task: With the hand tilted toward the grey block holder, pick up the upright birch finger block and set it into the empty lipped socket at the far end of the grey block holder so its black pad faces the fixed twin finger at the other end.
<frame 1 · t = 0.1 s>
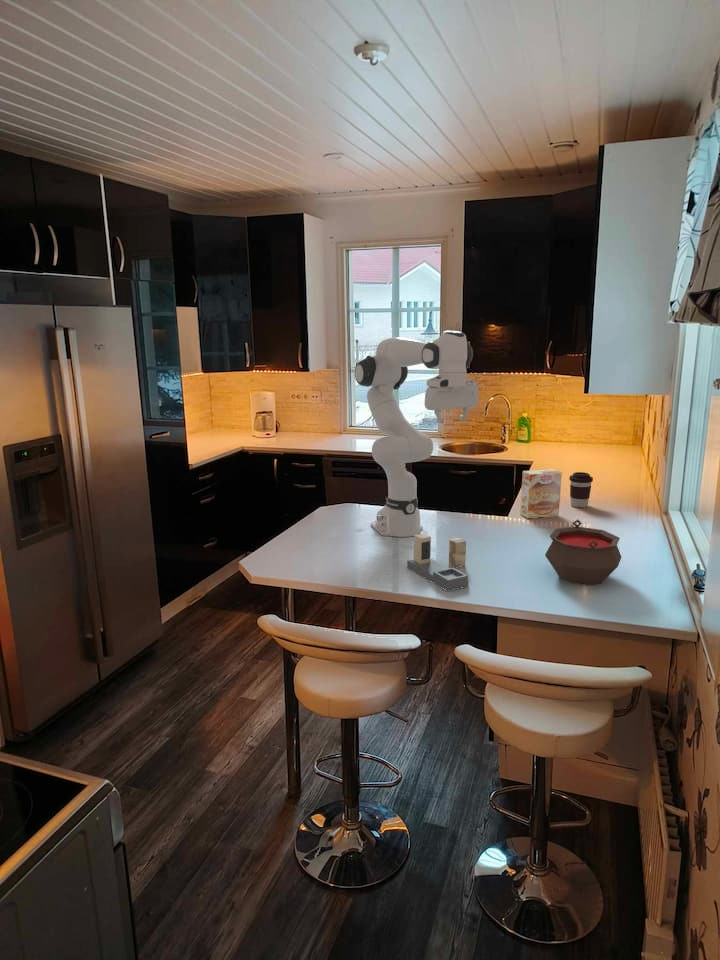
hand: (451, 421, 215), 48 cm above the table, tool pointing down, fingers open, 8 cm apart
coffeecake box: (539, 516, 273), on the table
finger block: (456, 565, 217), on the table
brown cauldron: (581, 577, 207), on the table
grey block holder: (436, 576, 208), on the table
coffee cup: (578, 506, 287), on the table
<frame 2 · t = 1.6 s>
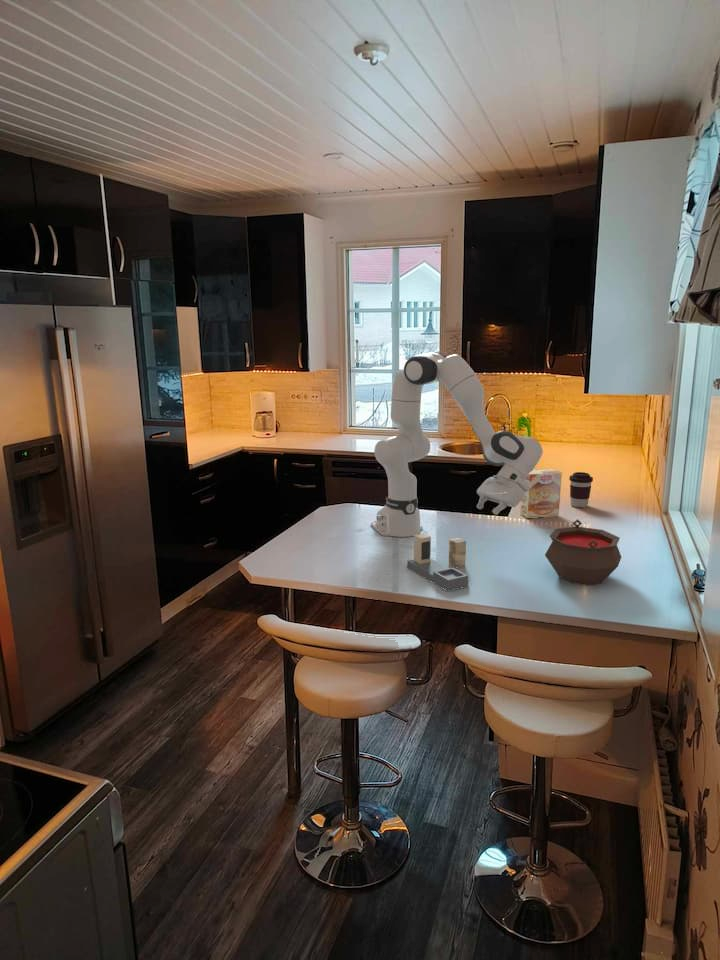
hand: (486, 510, 218), 18 cm above the table, tool tilted 45°, fingers open, 8 cm apart
nothing on the table moved.
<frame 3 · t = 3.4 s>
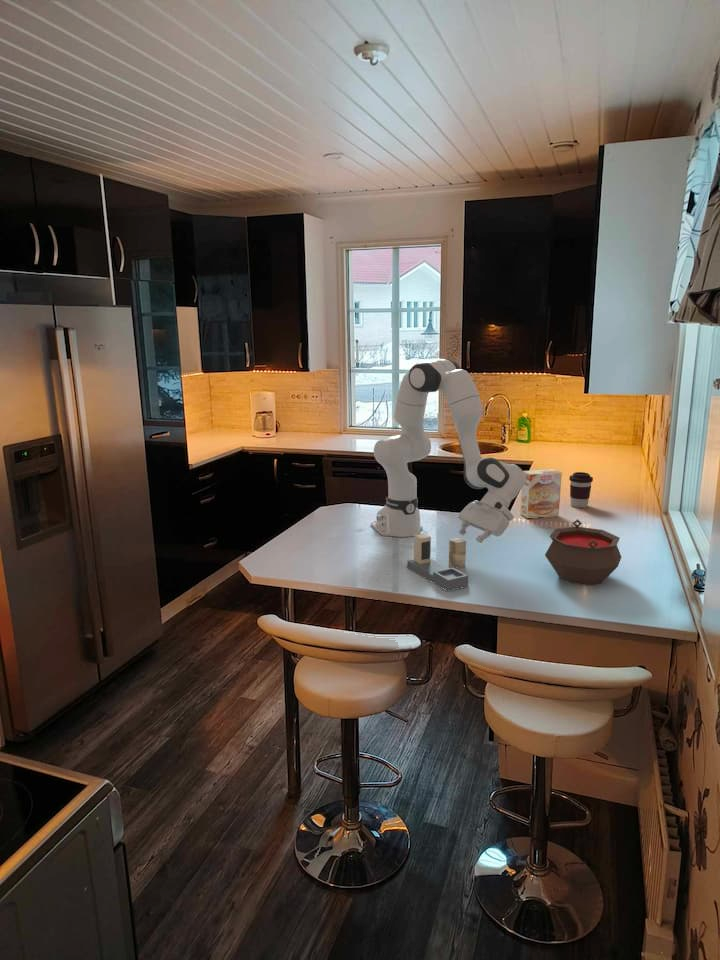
hand: (469, 537, 217), 9 cm above the table, tool tilted 45°, fingers open, 8 cm apart
nothing on the table moved.
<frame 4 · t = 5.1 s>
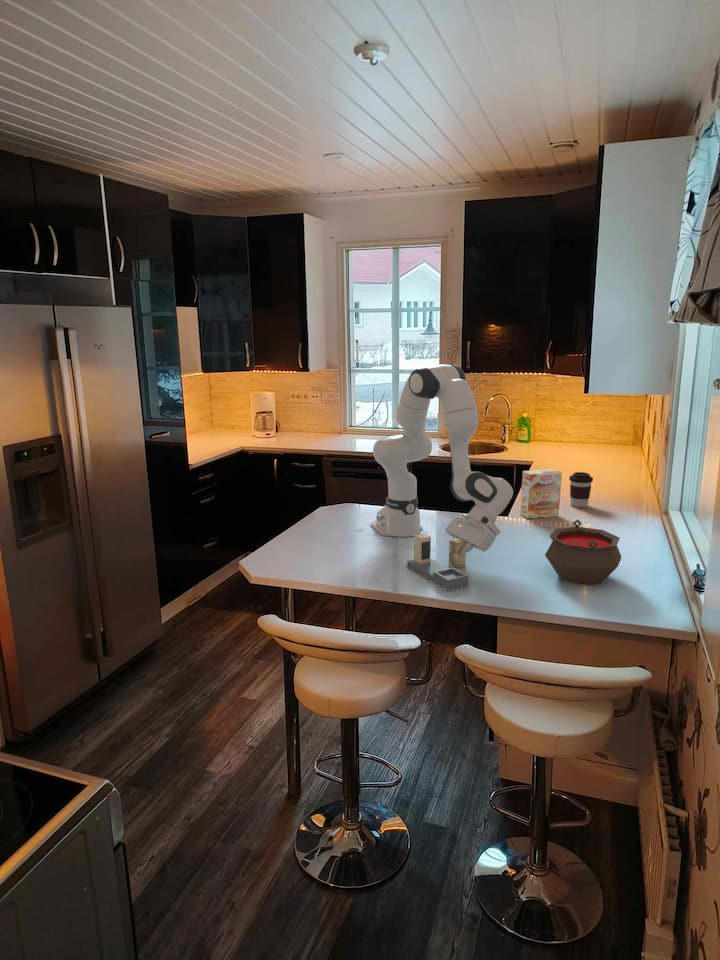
hand: (455, 552, 216), 5 cm above the table, tool tilted 45°, fingers closed on finger block, 4 cm apart
finger block: (456, 565, 217), on the table, touching gripper
everything else where it was.
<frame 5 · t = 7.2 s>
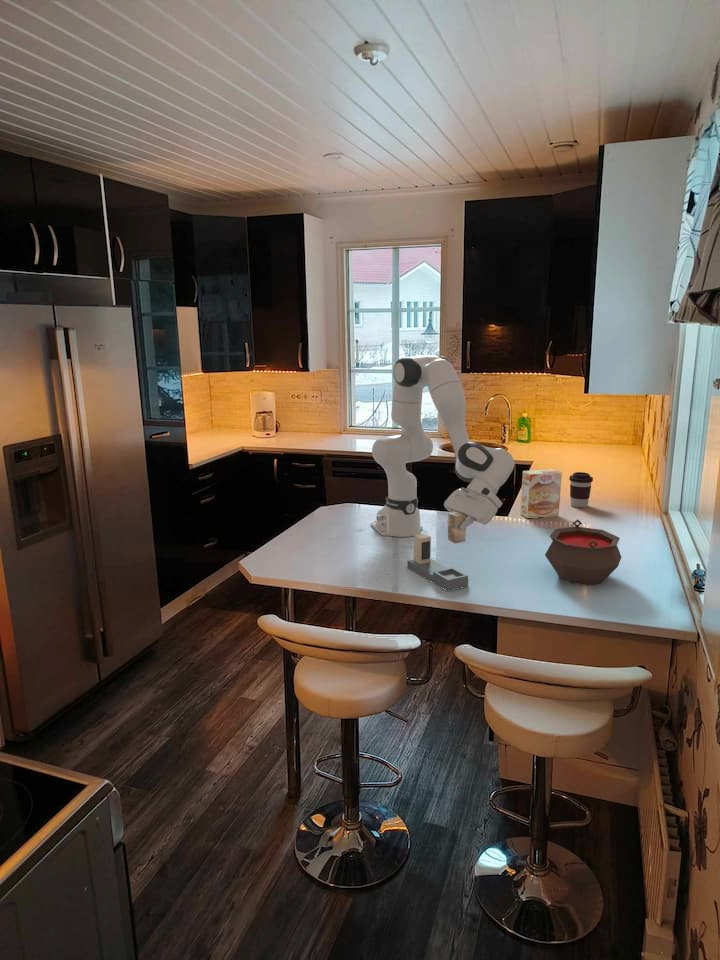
hand: (455, 526, 204), 17 cm above the table, tool tilted 45°, fingers closed on finger block, 4 cm apart
finger block: (456, 540, 205), point 12 cm above the table, touching gripper
everything else where it was.
when the fingers open (9 cm above the table, at t = 9.5 s): finger block drops 1 cm, resting on grey block holder.
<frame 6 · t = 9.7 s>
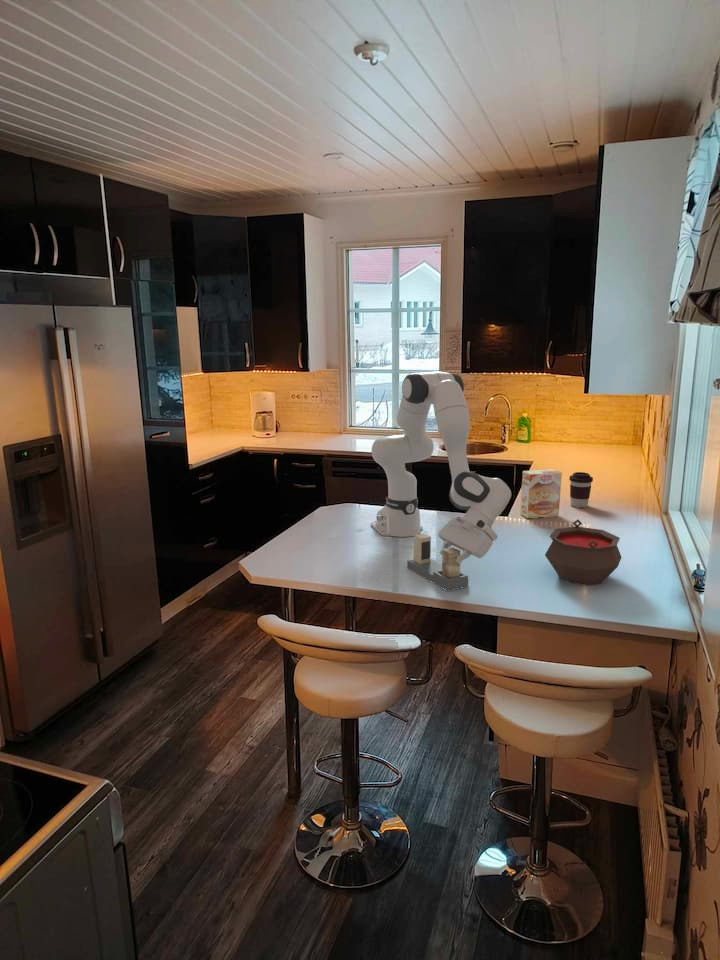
hand: (449, 558, 199), 9 cm above the table, tool tilted 45°, fingers open, 6 cm apart
finger block: (450, 577, 201), point 3 cm above the table, touching grey block holder
everything else where it was.
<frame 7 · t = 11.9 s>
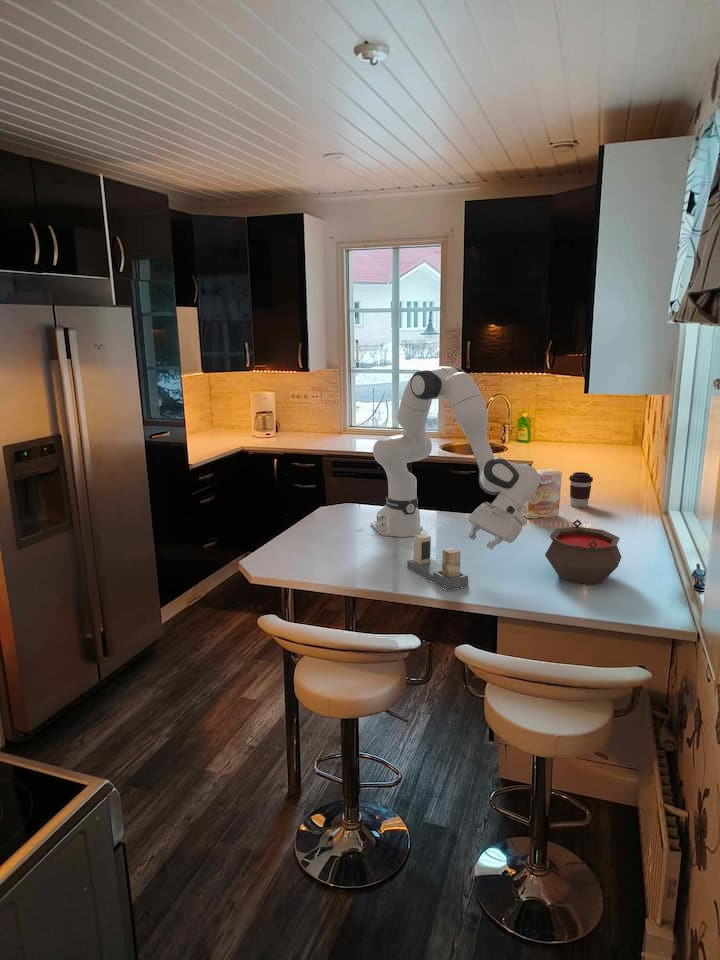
hand: (479, 543, 205), 11 cm above the table, tool tilted 45°, fingers open, 8 cm apart
nothing on the table moved.
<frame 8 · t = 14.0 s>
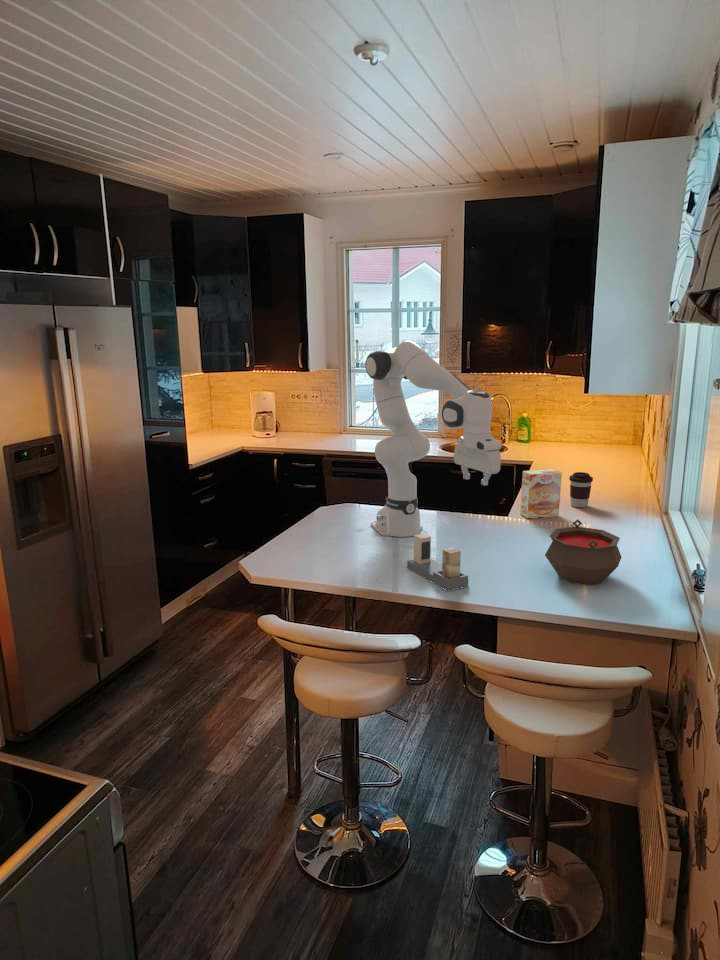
hand: (475, 481, 211), 29 cm above the table, tool pointing down, fingers open, 8 cm apart
nothing on the table moved.
at the end: finger block 0.2 cm from the target spot on the grey block holder, point 2.5 cm above the grey block holder's base; finger block tilted 0°; the gripper is holding nothing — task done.
